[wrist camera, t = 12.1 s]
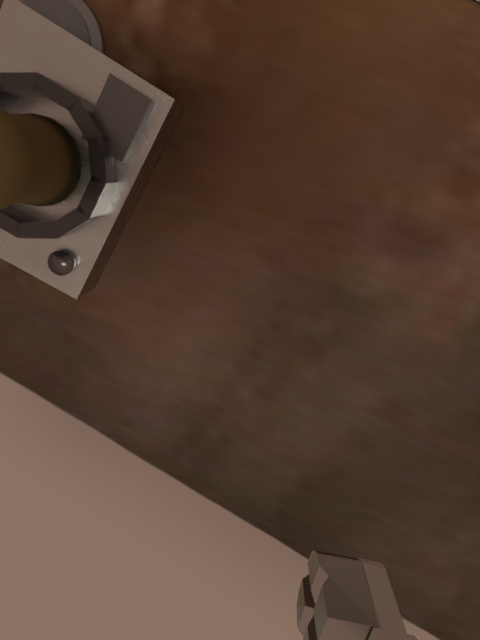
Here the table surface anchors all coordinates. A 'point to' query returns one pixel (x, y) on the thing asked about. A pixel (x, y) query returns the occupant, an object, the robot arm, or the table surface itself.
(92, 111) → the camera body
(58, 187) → the cork
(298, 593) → the robot arm
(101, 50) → the lens cap
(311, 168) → the table surface
